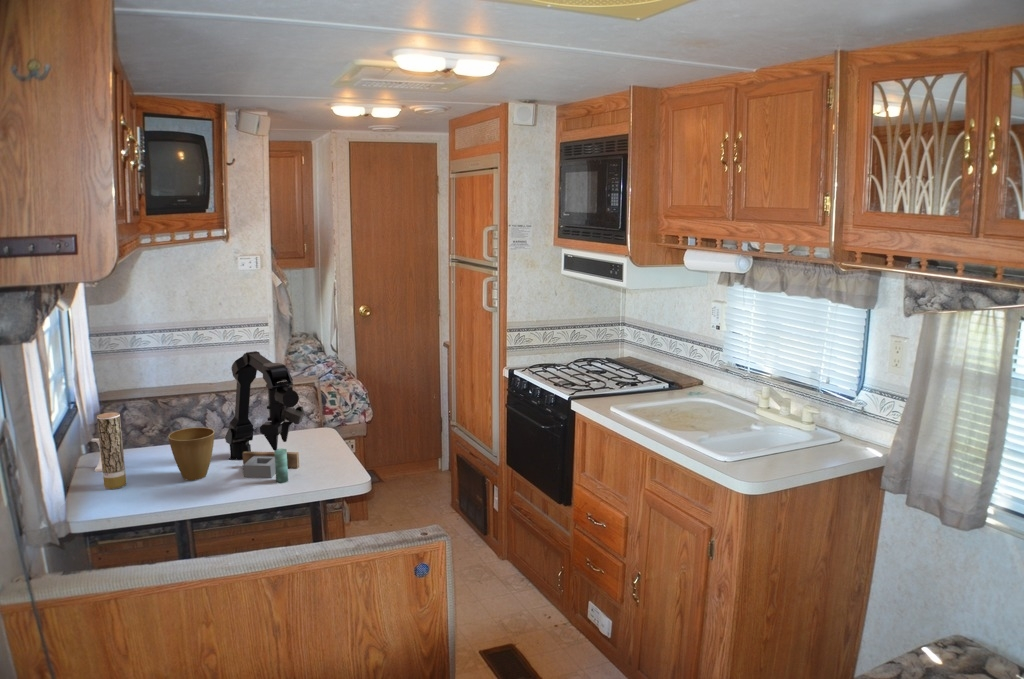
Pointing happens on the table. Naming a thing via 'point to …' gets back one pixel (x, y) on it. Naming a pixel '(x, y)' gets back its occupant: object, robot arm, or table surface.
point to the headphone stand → (99, 467)
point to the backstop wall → (291, 456)
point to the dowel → (281, 465)
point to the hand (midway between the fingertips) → (280, 445)
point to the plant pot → (192, 451)
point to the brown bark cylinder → (111, 450)
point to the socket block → (259, 467)
